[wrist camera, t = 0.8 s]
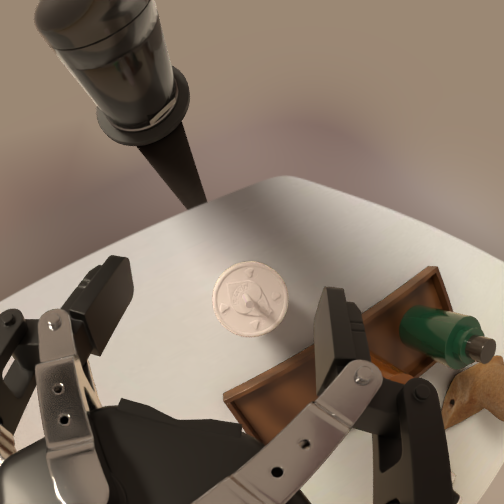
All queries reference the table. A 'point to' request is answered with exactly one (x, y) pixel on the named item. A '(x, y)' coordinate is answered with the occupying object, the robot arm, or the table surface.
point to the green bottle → (445, 336)
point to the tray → (303, 364)
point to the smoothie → (250, 299)
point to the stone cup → (475, 392)
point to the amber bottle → (390, 369)
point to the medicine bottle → (456, 496)
